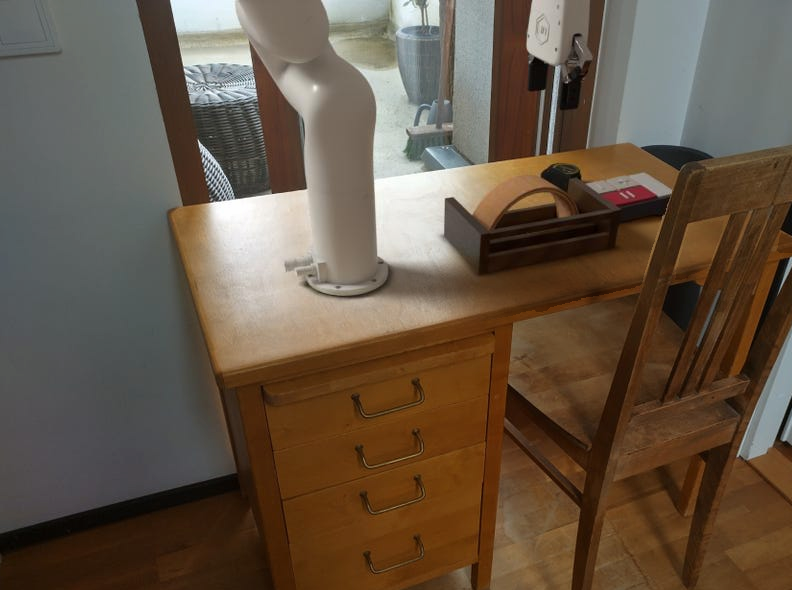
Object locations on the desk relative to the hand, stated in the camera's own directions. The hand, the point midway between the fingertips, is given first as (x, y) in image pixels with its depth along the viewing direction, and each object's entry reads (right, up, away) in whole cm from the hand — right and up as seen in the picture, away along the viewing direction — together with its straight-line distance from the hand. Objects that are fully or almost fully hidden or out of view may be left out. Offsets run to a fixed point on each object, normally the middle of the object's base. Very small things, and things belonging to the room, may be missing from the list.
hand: (551, 99), depth 110 cm
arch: (-3, -19, +13) cm, 24 cm away
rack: (-2, -20, +12) cm, 23 cm away
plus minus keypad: (+17, -12, +25) cm, 32 cm away
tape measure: (+6, -6, +31) cm, 32 cm away
